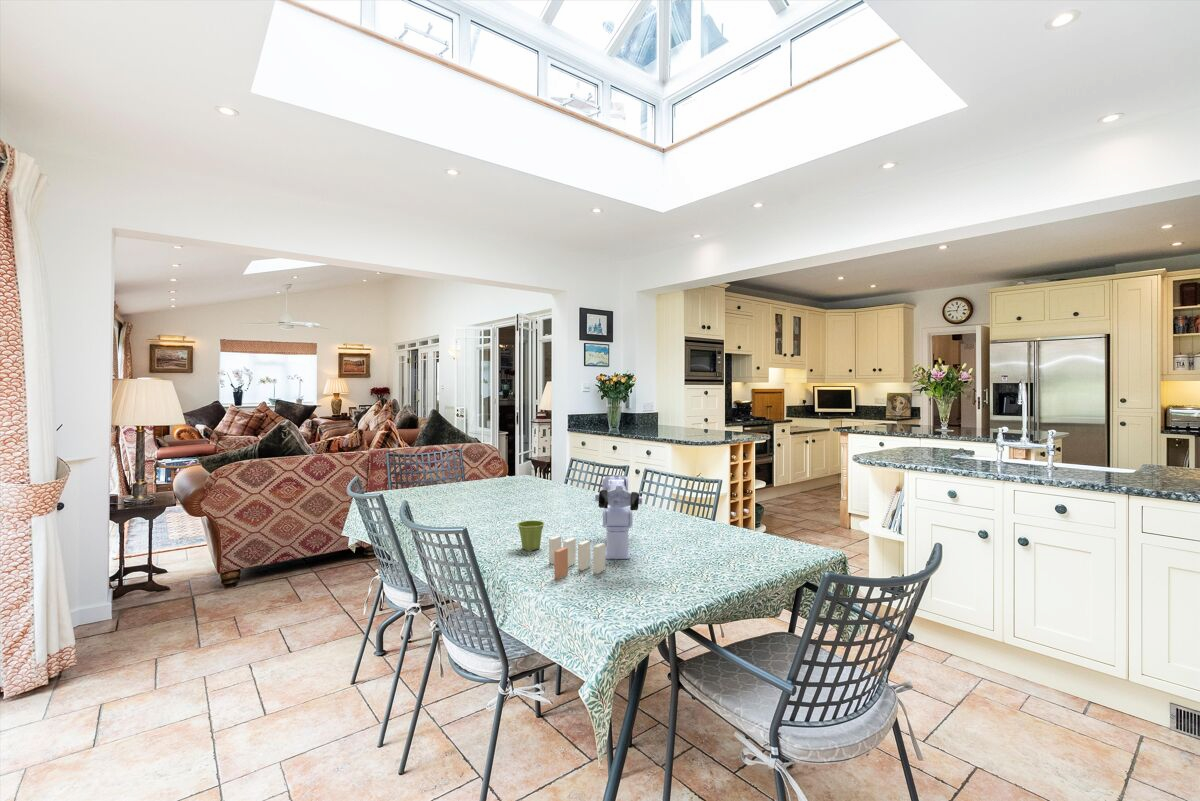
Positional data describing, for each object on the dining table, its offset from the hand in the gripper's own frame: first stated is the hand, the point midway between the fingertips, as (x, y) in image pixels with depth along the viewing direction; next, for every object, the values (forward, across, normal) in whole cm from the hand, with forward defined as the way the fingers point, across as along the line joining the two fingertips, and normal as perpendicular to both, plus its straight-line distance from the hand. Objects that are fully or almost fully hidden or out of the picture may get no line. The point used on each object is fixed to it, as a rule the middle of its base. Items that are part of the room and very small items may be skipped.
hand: (619, 506), depth 159 cm
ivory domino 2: (-9, -14, +23) cm, 28 cm away
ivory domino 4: (-4, -4, +22) cm, 22 cm away
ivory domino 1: (-12, -18, +23) cm, 32 cm away
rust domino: (+1, -16, +22) cm, 27 cm away
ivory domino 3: (-6, -9, +22) cm, 25 cm away
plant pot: (-27, -28, +25) cm, 46 cm away
